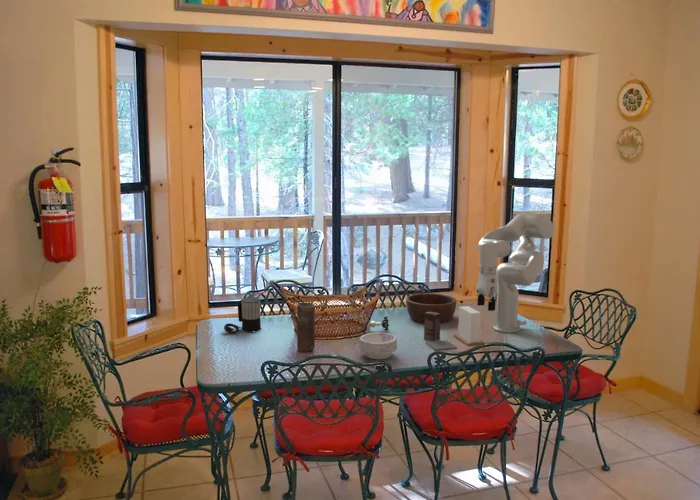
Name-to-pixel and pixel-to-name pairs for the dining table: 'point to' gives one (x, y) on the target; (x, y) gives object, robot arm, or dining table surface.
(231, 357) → the dining table surface
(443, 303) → the wooden bowl
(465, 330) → the mounted unit
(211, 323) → the dining table surface
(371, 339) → the white bowl
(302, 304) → the candle
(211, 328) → the dining table surface
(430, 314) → the box
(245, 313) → the milk frother
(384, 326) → the valve
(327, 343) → the dining table surface
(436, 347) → the slate mat
